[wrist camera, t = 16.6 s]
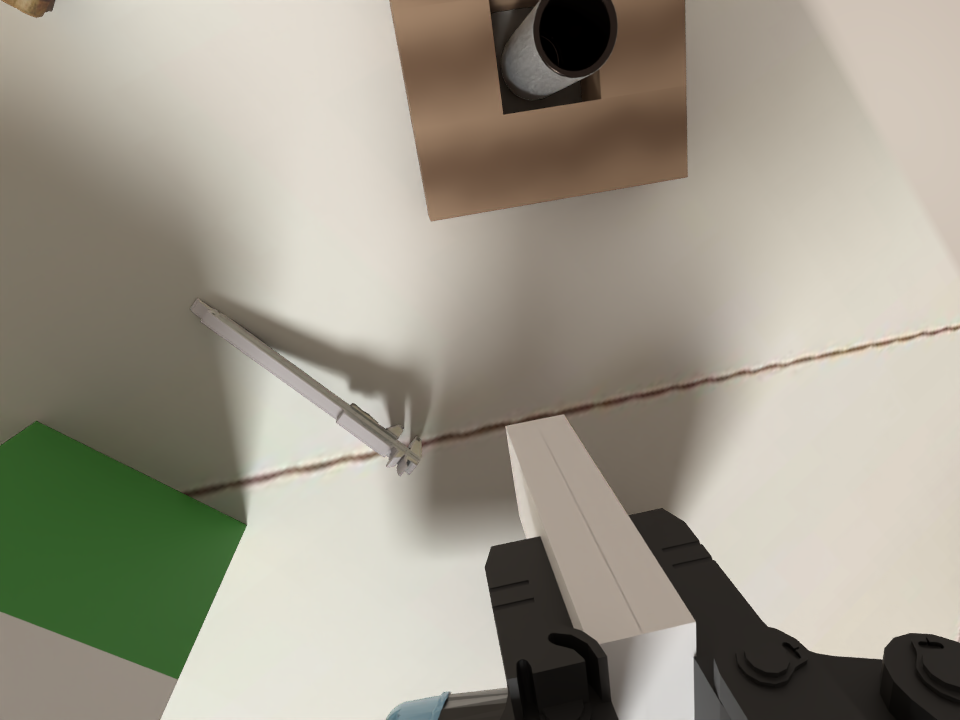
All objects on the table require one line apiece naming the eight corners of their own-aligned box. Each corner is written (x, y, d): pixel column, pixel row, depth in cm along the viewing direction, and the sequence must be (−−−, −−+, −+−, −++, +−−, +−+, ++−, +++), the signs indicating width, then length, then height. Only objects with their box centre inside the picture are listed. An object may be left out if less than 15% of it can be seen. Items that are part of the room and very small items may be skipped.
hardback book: (246, 525, 46) (98, 859, 24) (203, 584, 48) (24, 950, 25) (36, 420, 41) (-408, 725, 19) (-6, 490, 43) (-466, 851, 20)
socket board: (661, 176, 41) (687, 177, 37) (428, 216, 40) (431, 221, 36) (652, -116, 35) (682, -151, 31) (374, -79, 33) (370, -110, 30)
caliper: (421, 436, 46) (423, 475, 40) (414, 445, 46) (415, 486, 40) (198, 296, 40) (162, 318, 34) (191, 308, 40) (154, 332, 34)
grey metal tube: (486, 63, 37) (514, 26, 27) (534, 10, 36) (580, -46, 26) (530, 115, 38) (572, 98, 29) (577, 65, 38) (636, 31, 28)
